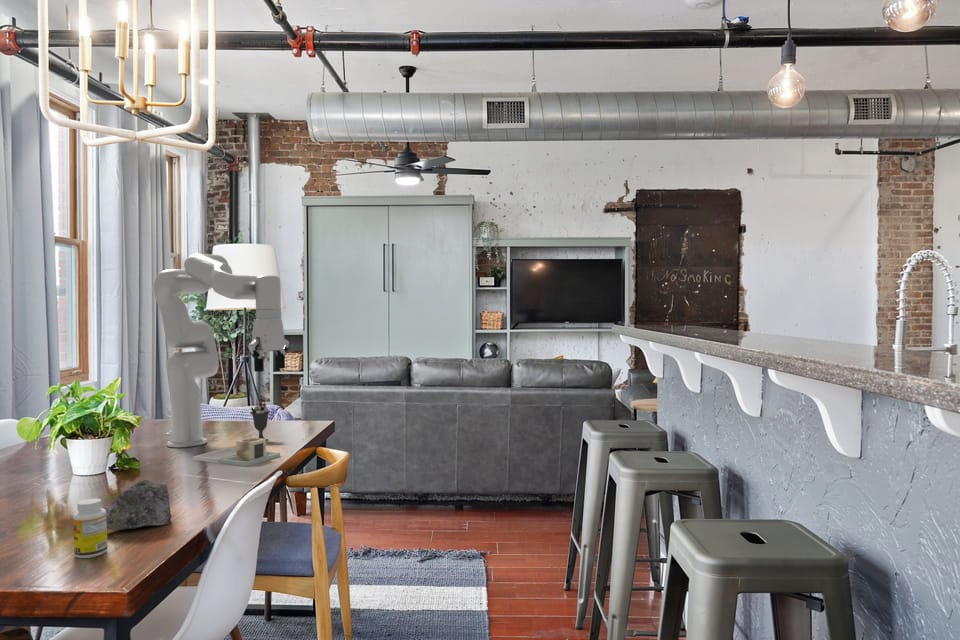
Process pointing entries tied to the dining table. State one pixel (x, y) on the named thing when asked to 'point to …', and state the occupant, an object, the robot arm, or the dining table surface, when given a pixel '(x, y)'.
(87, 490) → the dining table surface
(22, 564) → the dining table surface
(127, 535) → the dining table surface
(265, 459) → the tray sage
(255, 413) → the sundae
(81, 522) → the supplement bottle
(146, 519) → the mineral rock
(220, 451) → the tray white
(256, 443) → the light wooden cube
